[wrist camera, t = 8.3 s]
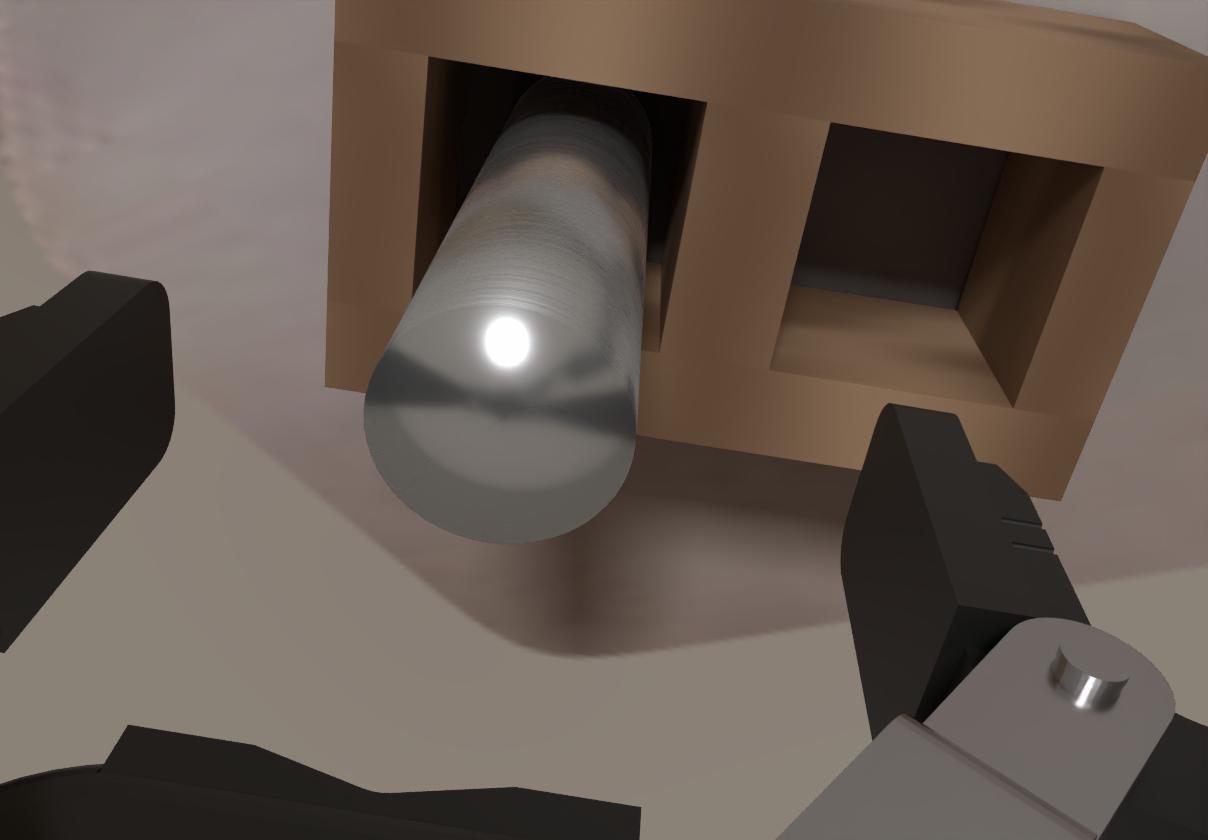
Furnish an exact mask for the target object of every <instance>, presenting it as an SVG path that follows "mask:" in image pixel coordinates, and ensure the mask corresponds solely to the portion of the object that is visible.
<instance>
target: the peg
mask: <svg viewBox="0 0 1208 840" xmlns="http://www.w3.org/2000/svg"><path fill="white" fill-rule="evenodd" d="M651 162H652V133H651V127H650V124H649V120H648V117H647V115H646V113H645V111H644V109H643V107H642V105H641V104H640V102H639V101H638V99H637V98H636V97H635V96H634V94H633V93H632V92H631V91H630V90H629V89H625V88H619V87H613V86H607V85H601V84H595V83H589V82H583V81H577V80H570V79H564V78H558V77H552V76H546V77H544V78H542V79H540V80H539V81H537V82H536V83H534V84H533V85H532V86H531V87H530V88H529V89H527V90H526V92H525V93H524V94H523V95H522V96H521V97H520V99H519V100H518V102H517V104H516V105H515V107H514V109H513V111H512V113H511V114H510V116H509V118H508V120H507V122H506V124H505V126H504V128H503V129H502V131H501V133H500V135H499V137H498V139H497V141H496V143H495V144H494V146H493V148H492V150H491V152H490V154H489V156H488V158H487V159H486V161H485V163H484V165H483V167H482V169H481V171H480V173H479V174H478V176H477V178H476V180H475V182H474V184H473V186H472V188H471V189H470V191H469V193H468V195H467V197H466V199H465V201H464V203H463V204H462V206H461V208H460V210H459V212H458V214H457V216H456V218H455V219H454V221H453V223H452V225H451V227H450V229H449V231H448V233H447V234H446V236H445V238H444V240H443V242H442V244H441V246H440V248H439V249H438V251H437V253H436V255H435V257H434V259H433V261H432V263H431V264H430V266H429V268H428V270H427V272H426V274H425V276H424V278H423V279H422V281H421V283H420V285H419V287H418V289H417V291H416V293H415V294H414V296H413V298H412V300H411V302H410V304H409V306H408V308H407V309H406V311H405V313H404V315H403V317H402V319H401V321H400V323H399V324H398V326H397V328H396V330H395V332H394V334H393V336H392V338H391V339H390V341H389V343H388V345H387V347H386V349H385V351H384V353H383V354H382V356H381V358H380V360H379V362H378V364H377V366H376V368H375V370H374V372H373V374H372V377H371V379H370V381H369V385H368V388H367V392H366V396H365V404H364V429H365V434H366V440H367V444H368V447H369V450H370V453H371V456H372V458H373V460H374V463H375V465H376V467H377V469H378V471H379V472H380V474H381V475H382V477H383V479H384V480H385V482H386V483H387V485H388V486H389V487H390V488H391V489H392V491H393V492H394V493H395V494H396V495H397V497H398V498H399V499H401V500H402V501H403V502H404V503H405V504H406V505H407V506H408V507H409V508H410V509H412V510H413V511H414V512H416V513H417V514H418V515H420V516H421V517H422V518H424V519H425V520H427V521H429V522H431V523H432V524H434V525H436V526H438V527H440V528H442V529H444V530H446V531H449V532H451V533H453V534H456V535H459V536H462V537H465V538H468V539H472V540H477V541H482V542H487V543H497V544H524V543H532V542H538V541H543V540H547V539H551V538H554V537H557V536H560V535H563V534H565V533H568V532H570V531H572V530H574V529H576V528H578V527H580V526H582V525H583V524H585V523H586V522H588V521H589V520H591V519H592V518H593V517H595V516H596V515H597V514H598V513H599V512H601V511H602V510H603V509H604V508H605V507H606V506H607V505H608V504H609V503H610V501H611V500H612V499H613V498H614V497H615V495H616V494H617V493H618V491H619V489H620V488H621V486H622V485H623V483H624V481H625V479H626V477H627V475H628V472H629V470H630V468H631V464H632V460H633V457H634V453H635V444H636V433H637V415H638V397H639V379H640V361H641V343H642V325H643V307H644V289H645V271H646V253H647V235H648V217H649V198H650V180H651Z"/></svg>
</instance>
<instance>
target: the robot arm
mask: <svg viewBox="0 0 1208 840" xmlns="http://www.w3.org/2000/svg"><path fill="white" fill-rule="evenodd" d="M174 418H175V397H174V379H173V361H172V343H171V326H170V309H169V301H168V296H167V293H166V290H165V288H164V286H163V285H162V284H161V283H159V282H157V281H151V280H145V279H139V278H133V277H127V276H121V275H114V274H108V273H102V272H96V271H87V272H85V273H83V274H81V275H80V276H79V277H77V278H76V279H75V280H74V281H72V282H71V283H70V284H68V285H67V286H66V287H64V288H63V289H62V290H61V291H59V292H58V293H57V294H55V295H54V296H53V297H52V298H50V299H49V300H48V301H46V302H45V303H44V304H42V305H41V306H34V305H33V306H30V307H27V308H24V309H22V310H19V311H16V312H13V313H11V314H8V315H5V316H2V317H0V652H2V653H5V652H6V650H7V649H8V648H9V646H10V645H11V644H12V643H13V642H14V641H15V639H16V638H17V637H18V636H19V634H20V633H21V632H22V631H23V629H24V628H25V627H26V626H27V624H28V623H29V622H30V621H31V620H32V618H33V617H34V616H35V615H36V614H37V612H38V611H39V610H40V609H41V607H42V606H43V605H44V604H45V602H46V601H47V600H48V599H49V598H50V596H51V595H52V594H53V593H54V591H55V590H56V589H57V587H58V586H59V585H60V584H61V583H62V581H63V580H64V579H65V578H66V577H67V575H68V574H69V573H70V572H71V570H72V569H73V568H74V567H75V566H76V564H77V563H78V562H79V561H80V559H81V558H82V557H83V556H84V554H85V553H86V552H87V551H88V550H89V548H90V547H91V545H93V543H94V542H95V541H96V540H97V538H98V537H99V536H100V535H101V534H102V532H103V531H104V530H105V529H106V527H107V526H108V525H109V524H110V522H111V521H112V520H113V519H114V518H115V516H116V515H117V514H118V513H119V511H120V510H121V509H122V508H123V507H124V505H125V504H126V503H127V502H128V500H129V499H130V498H131V497H132V495H133V494H134V493H135V492H136V490H137V489H138V488H139V487H140V486H141V484H142V483H143V482H144V481H145V479H146V478H147V477H148V476H149V475H150V473H151V472H152V471H153V470H154V468H155V467H156V466H157V465H158V463H159V462H160V461H161V459H162V458H163V456H164V454H165V452H166V450H167V447H168V445H169V442H170V439H171V435H172V431H173V425H174ZM1053 551H1054V547H1053V545H1052V543H1051V541H1050V539H1049V537H1048V534H1047V532H1046V530H1044V529H1042V522H1041V520H1040V518H1039V516H1038V514H1037V511H1036V509H1035V507H1034V505H1033V503H1032V501H1031V499H1030V497H1029V495H1028V493H1027V492H1026V491H1025V490H1024V489H1022V488H1021V487H1020V486H1019V485H1018V484H1017V483H1016V482H1015V481H1014V480H1013V479H1012V478H1011V477H1010V476H1009V475H1007V474H1006V473H1005V472H1004V471H1003V470H1002V469H1001V468H1000V467H999V466H998V465H997V464H991V463H985V462H979V461H977V460H976V457H975V455H974V453H973V450H972V448H971V446H970V443H969V441H968V439H967V436H966V434H965V432H964V429H963V427H962V424H961V422H960V420H959V418H958V416H957V415H956V414H953V413H948V412H942V411H936V410H929V409H923V408H917V407H911V406H905V405H899V404H893V403H888V404H886V405H885V406H884V408H883V409H882V411H881V413H880V415H879V417H878V420H877V422H876V425H875V428H874V432H873V435H872V438H871V441H870V445H869V448H868V451H867V454H866V457H865V461H864V464H863V467H862V470H861V474H860V477H859V480H858V483H857V486H856V490H855V493H854V496H853V499H852V502H851V506H850V509H849V512H848V515H847V519H846V523H845V527H844V532H843V538H842V546H841V575H842V580H843V586H844V591H845V596H846V602H847V607H848V613H849V618H850V623H851V628H852V634H853V639H854V645H855V650H856V655H857V660H858V666H859V671H860V677H861V682H862V688H863V693H864V698H865V703H866V709H867V714H868V719H869V725H870V730H871V736H872V742H871V743H870V744H869V745H868V746H867V747H866V748H865V749H864V750H863V751H862V752H861V753H860V754H859V755H858V756H857V757H856V758H855V760H854V761H852V762H851V763H850V764H849V765H848V767H847V768H845V770H843V772H842V773H841V774H840V775H839V776H838V777H837V778H836V779H835V780H834V781H833V782H832V783H831V784H830V785H829V786H828V787H827V788H826V789H825V790H824V791H823V792H822V793H821V794H820V795H819V796H818V797H817V798H816V799H815V800H814V801H813V802H812V803H811V804H810V805H809V806H808V807H807V808H806V809H805V810H804V811H803V812H802V813H801V814H800V815H799V816H798V817H797V819H795V820H794V821H793V822H792V823H791V824H790V825H789V826H788V828H787V829H786V830H785V831H784V832H783V833H782V834H781V835H780V836H779V837H778V838H777V839H776V840H1208V727H1207V726H1204V725H1201V724H1199V723H1197V722H1194V721H1192V720H1190V719H1187V718H1185V717H1183V716H1181V715H1179V714H1177V713H1175V699H1174V694H1173V692H1172V690H1171V687H1170V685H1169V683H1168V682H1167V680H1166V679H1165V678H1164V676H1163V675H1162V673H1161V672H1160V671H1159V670H1158V669H1157V668H1156V667H1155V666H1154V664H1153V663H1152V662H1150V661H1149V660H1148V659H1147V658H1146V657H1145V656H1143V655H1142V654H1141V653H1140V652H1138V651H1137V650H1136V649H1134V648H1133V647H1132V646H1130V645H1129V644H1127V643H1125V642H1123V641H1122V640H1120V639H1118V638H1117V637H1115V636H1113V635H1111V634H1109V633H1106V632H1105V631H1102V630H1100V629H1097V628H1095V627H1092V626H1091V625H1090V622H1089V620H1088V618H1087V616H1086V614H1085V612H1084V610H1083V608H1082V606H1081V604H1080V601H1079V599H1078V597H1077V595H1076V593H1075V591H1074V589H1073V587H1072V585H1071V583H1070V581H1069V578H1068V576H1067V574H1066V572H1065V570H1064V568H1063V566H1062V564H1061V562H1060V560H1059V558H1058V555H1054V554H1053ZM640 819H641V807H636V806H629V805H624V804H618V803H611V802H605V801H599V800H593V799H587V798H580V797H574V796H568V795H562V794H555V793H549V792H543V791H537V790H531V789H524V788H518V787H506V788H486V789H465V790H445V791H426V792H425V791H424V792H406V793H405V792H403V793H379V792H373V791H369V790H366V789H363V788H360V787H358V786H355V785H353V784H350V783H348V782H345V781H343V780H340V779H338V778H335V777H333V776H330V775H328V774H325V773H323V772H320V771H318V770H315V769H313V768H310V767H308V766H305V765H303V764H300V763H298V762H295V761H293V760H290V759H288V758H285V757H283V756H280V755H278V754H275V753H273V752H270V751H268V750H265V749H263V748H260V747H258V746H255V745H251V744H245V743H238V742H232V741H226V740H220V739H213V738H207V737H201V736H194V735H188V734H182V733H176V732H170V731H163V730H158V729H151V728H144V727H139V726H132V725H128V726H127V728H126V729H125V731H124V732H123V734H122V736H121V737H120V739H119V741H118V742H117V744H116V745H115V747H114V749H113V750H112V752H111V753H110V755H109V757H108V758H107V760H106V762H105V763H104V764H96V765H84V766H77V767H70V768H63V769H56V770H51V771H47V772H43V773H38V774H34V775H30V776H25V777H21V778H18V779H14V780H11V781H8V782H5V783H2V784H0V840H639V837H640Z"/></svg>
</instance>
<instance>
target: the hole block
mask: <svg viewBox="0 0 1208 840" xmlns="http://www.w3.org/2000/svg"><path fill="white" fill-rule="evenodd" d="M468 63H473V64H479V65H485V66H491V67H497V68H503V69H509V70H515V71H522V72H528V73H534V74H540V75H546V76H552V77H558V78H564V79H570V80H577V81H583V82H589V83H595V84H601V85H607V86H613V87H619V88H625V89H631V90H638V91H644V92H650V93H656V94H662V95H668V96H674V97H680V98H686V99H691V104H690V110H689V115H688V121H687V126H686V131H685V137H684V142H683V148H682V153H681V158H680V164H679V169H678V175H677V180H676V185H675V191H674V196H673V202H672V207H671V212H670V218H669V223H668V229H667V234H666V240H665V245H664V250H663V256H662V261H661V263H656V262H650V261H646V271H645V289H644V307H643V325H642V343H641V361H640V379H639V397H638V415H637V433H636V435H638V436H644V437H651V438H657V439H664V440H670V441H676V442H683V443H689V444H696V445H702V446H709V447H715V448H721V449H728V450H734V451H741V452H747V453H754V454H760V455H766V456H773V457H779V458H786V459H792V460H799V461H805V462H811V463H818V464H824V465H831V466H837V467H844V468H850V469H856V470H862V467H863V464H864V461H865V457H866V454H867V451H868V448H869V445H870V441H871V438H872V435H873V432H874V428H875V425H876V422H877V420H878V417H879V415H880V413H881V411H882V409H883V408H884V406H885V405H886V404H888V403H893V404H899V405H905V406H911V407H917V408H923V409H929V410H936V411H942V412H948V413H953V414H956V415H957V416H958V418H959V420H960V422H961V424H962V427H963V429H964V432H965V434H966V436H967V439H968V441H969V443H970V446H971V448H972V450H973V453H974V455H975V457H976V460H977V461H979V462H985V463H991V464H997V465H998V466H999V467H1000V468H1001V469H1002V470H1003V471H1004V472H1005V473H1006V474H1007V475H1009V476H1010V477H1011V478H1012V479H1013V480H1014V481H1015V482H1016V483H1017V484H1018V485H1019V486H1020V487H1021V488H1022V489H1024V490H1025V491H1026V492H1027V493H1028V495H1029V496H1030V497H1036V498H1043V499H1049V500H1056V501H1061V499H1062V497H1063V494H1064V492H1065V490H1066V487H1067V485H1068V483H1069V480H1070V478H1071V475H1072V473H1073V471H1074V468H1075V466H1076V464H1077V461H1078V459H1079V456H1080V454H1081V452H1082V449H1083V447H1084V445H1085V442H1086V440H1087V437H1088V435H1089V433H1090V430H1091V428H1092V426H1093V423H1094V421H1095V418H1096V416H1097V414H1098V411H1099V409H1100V407H1101V404H1102V402H1103V399H1104V397H1105V395H1106V392H1107V390H1108V388H1109V385H1110V383H1111V380H1112V378H1113V376H1114V373H1115V371H1116V369H1117V366H1118V364H1119V362H1120V359H1121V357H1122V354H1123V352H1124V350H1125V347H1126V345H1127V343H1128V340H1129V338H1130V335H1131V333H1132V331H1133V328H1134V326H1135V324H1136V321H1137V319H1138V316H1139V314H1140V312H1141V309H1142V307H1143V305H1144V302H1145V300H1146V297H1147V295H1148V293H1149V290H1150V288H1151V286H1152V283H1153V281H1154V278H1155V276H1156V274H1157V271H1158V269H1159V267H1160V264H1161V262H1162V259H1163V257H1164V255H1165V252H1166V250H1167V248H1168V245H1169V243H1170V240H1171V238H1172V236H1173V233H1174V231H1175V229H1176V226H1177V224H1178V221H1179V219H1180V217H1181V214H1182V212H1183V210H1184V207H1185V205H1186V202H1187V200H1188V198H1189V195H1190V193H1191V191H1192V188H1193V186H1194V184H1195V181H1196V179H1197V176H1198V174H1199V172H1200V169H1201V167H1202V165H1203V162H1204V160H1205V157H1206V155H1207V153H1208V56H1205V55H1203V54H1201V53H1199V52H1197V51H1194V50H1192V49H1190V48H1188V47H1186V46H1183V45H1181V44H1179V43H1177V42H1175V41H1173V40H1170V39H1168V38H1166V37H1164V36H1162V35H1159V34H1157V33H1155V32H1153V31H1151V30H1148V29H1146V28H1144V27H1142V26H1140V25H1137V24H1135V23H1131V22H1125V21H1119V20H1113V19H1107V18H1101V17H1096V16H1090V15H1084V14H1078V13H1072V12H1066V11H1060V10H1054V9H1048V8H1042V7H1036V6H1030V5H1024V4H1018V3H1012V2H1006V1H1000V0H335V35H334V72H333V108H332V145H331V181H330V218H329V254H328V290H327V327H326V363H325V387H329V388H336V389H342V390H349V391H355V392H361V393H366V392H367V388H368V385H369V381H370V379H371V377H372V374H373V372H374V370H375V368H376V366H377V364H378V362H379V360H380V358H381V356H382V354H383V353H384V351H385V349H386V347H387V345H388V343H389V341H390V339H391V338H392V336H393V334H394V332H395V330H396V328H397V326H398V324H399V323H400V321H401V319H402V317H403V315H404V313H405V311H406V309H407V308H408V306H409V304H410V302H411V300H412V298H413V296H414V294H415V293H416V291H417V289H418V287H419V285H420V283H421V281H422V279H423V278H424V276H425V274H426V272H427V270H428V268H429V266H430V264H431V263H432V261H433V259H434V257H435V255H436V253H437V251H438V249H439V248H440V246H441V244H442V242H443V240H444V238H445V236H446V234H447V233H448V231H449V229H450V227H451V225H452V223H453V221H454V219H455V212H456V201H457V189H458V177H459V165H460V154H461V142H462V130H463V119H464V107H465V95H466V84H467V72H468ZM830 122H833V123H839V124H845V125H851V126H857V127H863V128H870V129H876V130H882V131H888V132H894V133H900V134H906V135H912V136H918V137H925V138H931V139H937V140H943V141H949V142H955V143H961V144H967V145H973V146H980V147H986V148H992V149H998V150H1004V151H1010V152H1009V155H1008V158H1007V161H1006V164H1005V167H1004V170H1003V173H1002V176H1001V179H1000V182H999V185H998V188H997V191H996V194H995V197H994V200H993V203H992V206H991V209H990V212H989V215H988V218H987V221H986V224H985V227H984V230H983V233H982V236H981V239H980V242H979V245H978V248H977V251H976V254H975V257H974V260H973V263H972V266H971V269H970V272H969V275H968V278H967V281H966V284H965V287H964V290H963V293H962V296H961V299H960V302H959V305H958V308H957V310H951V309H944V308H938V307H932V306H926V305H919V304H913V303H907V302H900V301H894V300H888V299H882V298H875V297H869V296H863V295H857V294H850V293H844V292H838V291H832V290H825V289H819V288H813V287H807V286H800V285H794V284H790V283H791V279H792V275H793V271H794V267H795V263H796V259H797V255H798V251H799V247H800V243H801V239H802V235H803V231H804V227H805V223H806V219H807V215H808V211H809V207H810V203H811V199H812V195H813V191H814V187H815V183H816V179H817V175H818V171H819V167H820V163H821V159H822V155H823V151H824V147H825V143H826V139H827V135H828V131H829V126H830Z"/></svg>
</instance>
